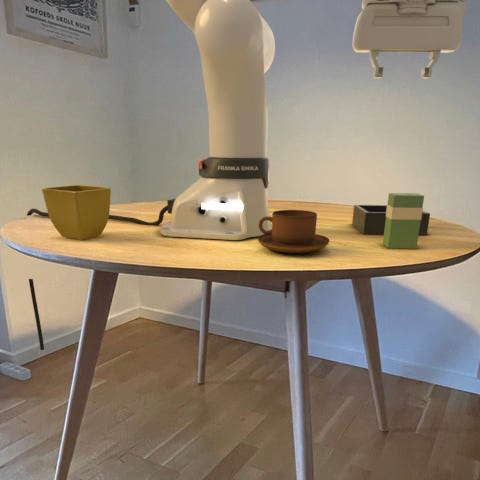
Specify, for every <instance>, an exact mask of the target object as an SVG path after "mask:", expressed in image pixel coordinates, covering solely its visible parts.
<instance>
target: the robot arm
mask: <svg viewBox="0 0 480 480" xmlns="http://www.w3.org/2000/svg"><path fill="white" fill-rule="evenodd" d="M164 1H165V2H166V3H167V4H168V6H169V7H170V8H171V10H172V11H173V12H174V14H176V16H178V18H179V19H180V20H181V21H182V22H183V23H184V24H185V26H187V28H189V30H190V31H191V32H192V33H193V35H194V38H195V41H196V46H197V48H198V51H199V55H200V56H199V57H200V63H201V65H200V66H201V73H202V79H203V85H204V92H205V97H206V104H207V114H208V148H209V149H208V153H209V155H208V157H207V158H201V159H200V160H199V161H198V175H199V178H198V179H197V180H196V181H195V182H193V183H192V184H191V185H189V186H188V187H187V188H186V189H185V190H183V192H182V193H180V194H179V195H178V196H177V197H176V198H171V199H167V201H166V202H167V204H166V206H164V207H162V209H160V210H159V214H158V219H157V220H155V221H152V222H149V221H146V220H143V219H139V218H136V217H131V216H130V217H129V216H121V215H114V214H109V218H108V220H112V221H113V220H115V221H120V222H121V221H122V222H130V223H134V224H138V225H141V226H153V227H154V226H156V227H157V226H159V225H161V224H162V223H163V221H164V215H165V214H166V213H167V214H170V215H171V216H170V220H169V221H167V222H165V223H163V224H162V225H161V227H160V230H159V231H160V233H159V234H160V235H162V236H164V237H174V238H190V239H191V238H193V239H207V240H208V239H210V240H226V241H227V240H229V241H241V240H245V239H249V238H254V237H259V236H260V235H263V234H264V233H262V232H261V231H260V229H259V221H260V219H261V218H263V217H266V216H269V217H271V216H270V210H269V202H268V201H269V200H268V187H269V184H270V160H269V158H268V129H269V111H268V104H267V103H268V102H267V94H266V80H265V73H266V72H267V71H268V70H269V69H270V67H271V66H272V64H273V62H274V58H275V54H276V40H275V36H274V32H273V30H272V28H271V27H270V25H269V24H268V22H267V21H266V19H264V17H263V16H262V14H261V13H260V12H259V11H258V9H257V8H256V7H255V6H254V4H253V2H252V1H251V0H164ZM466 8H467V4H466V2H465V0H362V1H361V9H362V10H361V12H360V13H359V14H358V15H357V18H356V21H355V24H354V30H353V34H352V43H351V46H352V50H353V51H354V52H355V53H369V58H368V59H369V62H370V64H371V66H372V68H373V75H372V78H373V79H382V78H383V76H384V74H383V72H384V66H380V64H379V62H378V60H377V59H378V58H379V57H380V53H423V54H424V53H427V54H428V59H429V60H430V61H429V62H428V64H427V66H426V67H423V68H421V74H420V79H430V78H431V77H432V73H433V68H434V67H435V65H436V63H437V62H438V60H439V59H440V58H441V54H442V53H445V54H447V53H453V52H455V51H457V50H458V48H459V47H460V46H461V44H462V39H463V38H462V37H463V20H464V18H465V14H466ZM34 213H35V214H36V215H39V216H40V217H45V218H50V217H49V214H48V212H44V211H41V210H39V209H37V208H30V209H29V210H28V211H27V213H26V216H30V217H31V216H32V215H33V214H34ZM262 227H263V229H264V230H266V231H268V230H271V229H272V222H271V221H269V220H266V221H264V222H263V224H262ZM28 283H29V290H30V294H31V302H32V306H33V307H32V308H33V312H34V318H35V323H36V329H37V330H36V331H37V336H38V341H39V349H40V351H44V350H45V345H44V337H43V331H42V325H41V319H40V313H39V307H38V302H37V297H36V291H35V285H34V278H28Z"/></svg>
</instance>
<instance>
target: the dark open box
mask: <svg viewBox="0 0 480 480" xmlns="http://www.w3.org/2000/svg"><path fill="white" fill-rule="evenodd" d="M386 209H387V204H354V205H353V210H352V211H353V213H352V222H351V225H352V226H353V227H354V228H356V230H358V232H360V233H361V234H362V235H375V236H377V235H378V236H379V235H381V236H382V235H383V236H384V229H385V221H386ZM430 216H431V213H430V212H428V211H425V210H423V211H422V218H421V221H420V228H419V235H418V236H428V230H429V223H430V218H431V217H430Z"/></svg>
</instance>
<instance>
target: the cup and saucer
mask: <svg viewBox="0 0 480 480" xmlns="http://www.w3.org/2000/svg"><path fill="white" fill-rule="evenodd" d="M271 215H272V216H270V215H269V216H270V217H269V216H266V217H263V218H261V219H260V221H259V229H260V231H261V232H262V233H264V234H263V235H260V236H257V241H258V243H259V244H260V245H261V246H262V247H264V248H266V249H268V250H271V251H274V252H280V253H285V254H286V253H287V254H304V253H305V254H306V253H312V252H317V251H320V250H322V249H324V248H326V247H327V246H328V245H329V243H330V238H328V237H327V236H324V235H322V234H317V233H316V231H317V220H318V219H317V218H318V213H317V212H315V211H311V210H303V209H302V210H301V209H280V210H275V211H274V210H273V212H272V214H271ZM266 220H269V221H271V226H272V229H271V230H268V231H266V230H264V229H263V227H262V224H263V222H264V221H266Z"/></svg>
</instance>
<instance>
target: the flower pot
mask: <svg viewBox="0 0 480 480" xmlns="http://www.w3.org/2000/svg"><path fill="white" fill-rule="evenodd" d="M41 191H42V194H43V199H44V203H45V207H46V210H47V213H48V214H49V217H48V218H49V219H50V220H49V221H50V222H51V223H52V225H53V227H54V228H55V230H56V231H57V232H58V233H59V235H60V236H61V237H62V238H69V239H74V240H79V241H84V240H86V239H91V238H97V237H100V236H101V235H102V234H103V233H104V230H105V228H106V226H107V224H108V221H109V219H108V218H109V215H110V211H111V210H110V209H111V193H112V188H111V187H107V186H106V187H105V186H96V185H85V184H84V185H83V184H72V185H61V186H60V185H59V186H51V187H43V188H41Z"/></svg>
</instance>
